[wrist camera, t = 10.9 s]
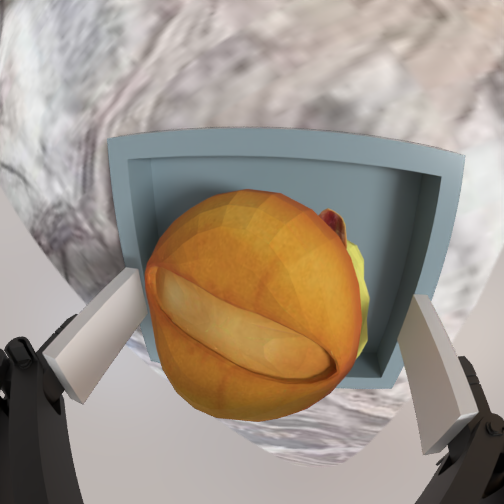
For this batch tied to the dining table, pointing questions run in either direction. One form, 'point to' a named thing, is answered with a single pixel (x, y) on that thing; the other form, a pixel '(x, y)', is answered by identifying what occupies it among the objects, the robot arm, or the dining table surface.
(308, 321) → the cheeseburger
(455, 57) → the dining table surface
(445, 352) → the robot arm
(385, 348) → the bin
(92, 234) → the dining table surface
